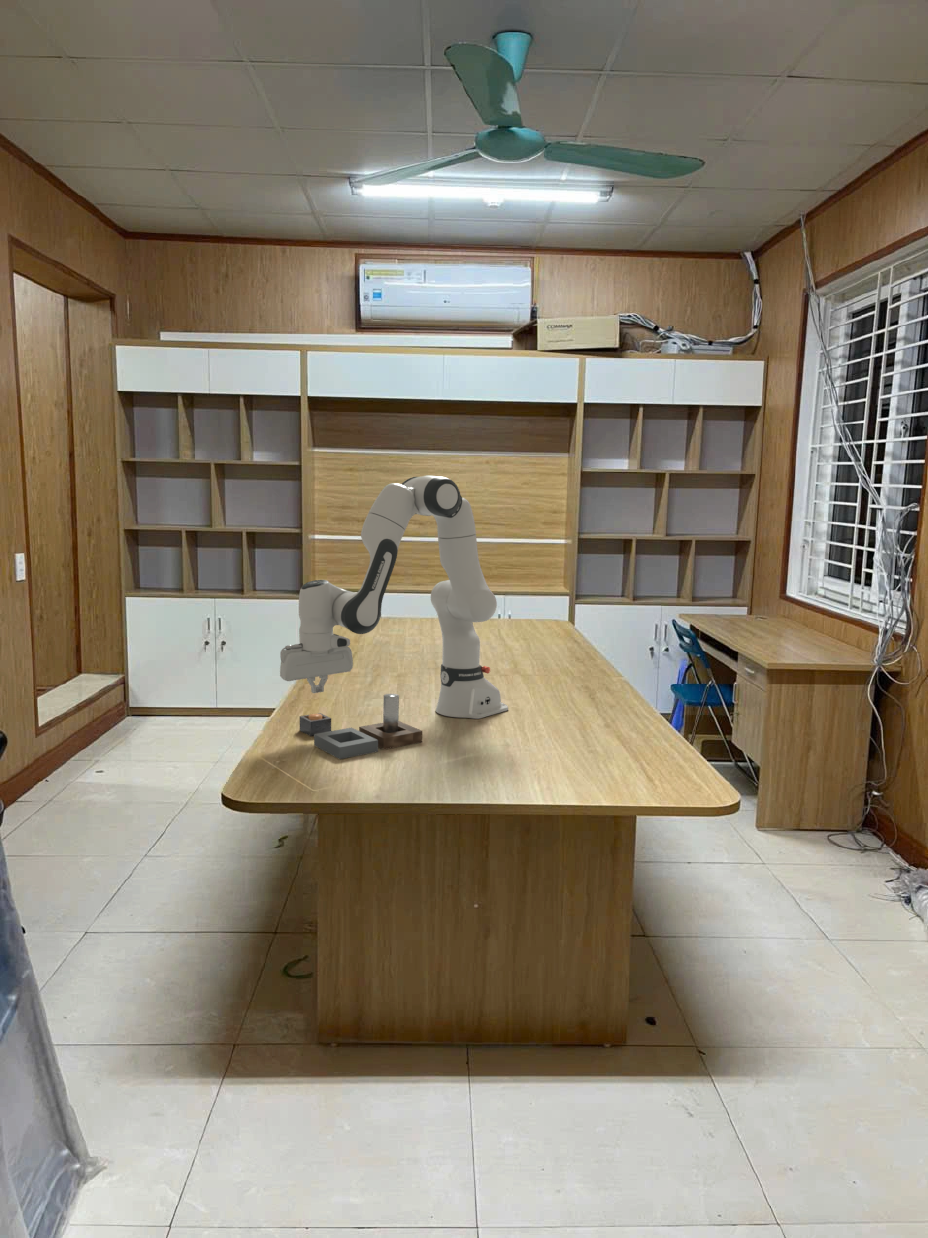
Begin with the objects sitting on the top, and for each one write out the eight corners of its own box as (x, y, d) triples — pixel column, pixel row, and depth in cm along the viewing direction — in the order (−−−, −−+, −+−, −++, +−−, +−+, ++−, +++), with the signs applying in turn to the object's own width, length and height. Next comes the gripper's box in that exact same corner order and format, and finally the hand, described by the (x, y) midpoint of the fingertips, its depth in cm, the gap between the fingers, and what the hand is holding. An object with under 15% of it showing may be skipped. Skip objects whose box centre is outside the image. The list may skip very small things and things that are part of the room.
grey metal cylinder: (392, 736, 225) (393, 693, 224) (401, 740, 222) (401, 696, 220) (379, 739, 223) (380, 694, 221) (388, 743, 220) (389, 698, 218)
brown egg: (318, 725, 230) (318, 712, 230) (324, 728, 227) (324, 716, 227) (306, 727, 228) (306, 714, 227) (312, 730, 225) (312, 717, 225)
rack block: (351, 738, 223) (351, 727, 222) (377, 751, 213) (378, 740, 212) (314, 745, 216) (314, 734, 216) (339, 759, 206) (339, 747, 206)
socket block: (396, 730, 231) (397, 720, 231) (422, 741, 222) (422, 730, 221) (359, 737, 224) (359, 726, 223) (383, 749, 214) (383, 738, 214)
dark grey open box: (320, 727, 232) (320, 712, 232) (331, 732, 227) (331, 718, 227) (299, 730, 228) (299, 716, 228) (310, 736, 224) (310, 721, 223)
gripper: (285, 648, 215) (287, 700, 218) (355, 639, 228) (356, 688, 230) (274, 644, 220) (276, 695, 223) (343, 635, 233) (344, 684, 235)
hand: (317, 692), depth 227 cm, fingers closed
